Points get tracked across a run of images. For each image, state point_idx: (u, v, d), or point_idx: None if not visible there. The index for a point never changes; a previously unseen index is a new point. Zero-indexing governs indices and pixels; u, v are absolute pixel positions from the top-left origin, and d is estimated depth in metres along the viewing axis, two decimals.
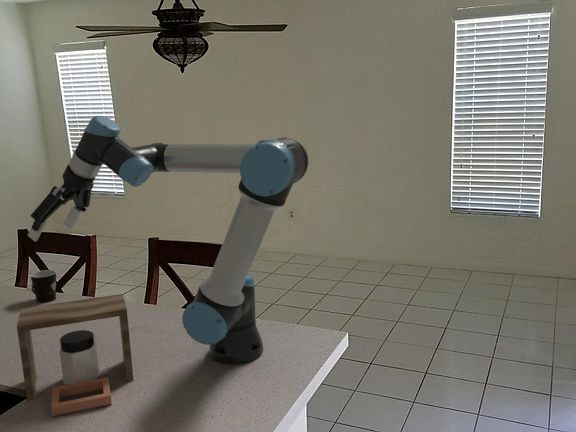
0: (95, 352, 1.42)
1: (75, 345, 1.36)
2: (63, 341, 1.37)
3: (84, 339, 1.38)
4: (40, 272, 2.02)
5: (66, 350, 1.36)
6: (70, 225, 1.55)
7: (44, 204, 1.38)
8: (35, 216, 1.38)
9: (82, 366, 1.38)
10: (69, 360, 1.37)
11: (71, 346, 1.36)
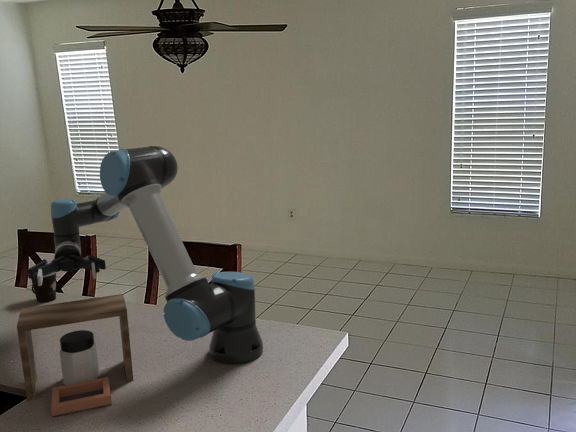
0: (95, 352, 1.42)
1: (75, 345, 1.36)
2: (63, 341, 1.37)
3: (84, 339, 1.38)
4: None
5: (66, 350, 1.36)
6: (92, 269, 1.49)
7: None
8: None
9: (82, 366, 1.38)
10: (69, 360, 1.37)
11: (71, 346, 1.36)
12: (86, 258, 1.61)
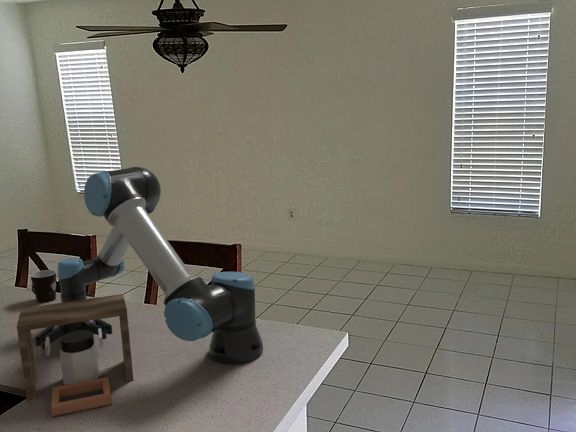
0: (95, 352, 1.42)
1: (75, 345, 1.36)
2: (63, 341, 1.37)
3: (84, 339, 1.38)
4: (40, 272, 2.02)
5: (66, 350, 1.36)
6: (99, 337, 1.50)
7: None
8: None
9: (82, 366, 1.38)
10: (69, 360, 1.37)
11: (71, 346, 1.36)
12: (93, 321, 1.62)
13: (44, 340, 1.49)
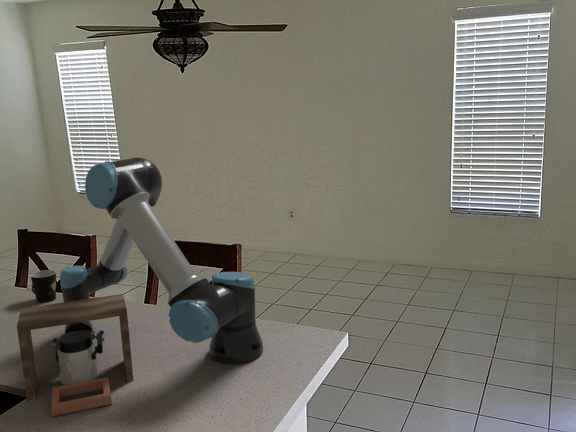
0: None
1: (72, 346, 1.36)
2: (61, 341, 1.37)
3: (81, 340, 1.37)
4: (40, 272, 2.02)
5: (63, 350, 1.36)
6: None
7: None
8: None
9: (79, 367, 1.37)
10: (66, 360, 1.37)
11: (68, 346, 1.36)
12: (97, 334, 1.52)
13: None
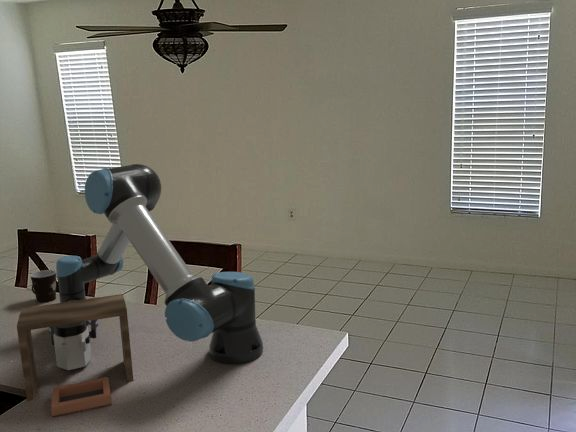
0: None
1: (67, 330, 1.43)
2: (56, 326, 1.44)
3: (76, 324, 1.45)
4: (40, 272, 2.02)
5: (58, 334, 1.44)
6: (82, 342, 1.45)
7: None
8: None
9: (74, 350, 1.45)
10: (61, 343, 1.44)
11: (63, 331, 1.43)
12: (91, 321, 1.60)
13: None
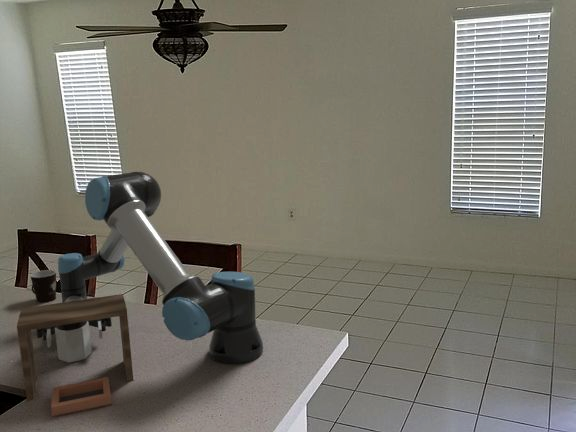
0: (87, 331, 1.55)
1: None
2: None
3: None
4: (40, 272, 2.02)
5: (60, 328, 1.50)
6: None
7: None
8: None
9: (74, 343, 1.51)
10: (62, 337, 1.50)
11: None
12: None
13: (45, 332, 1.54)
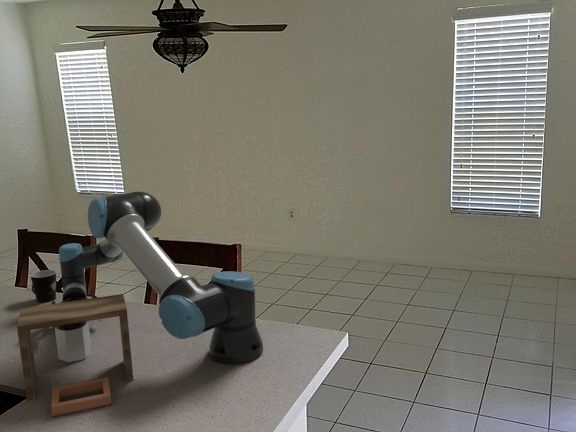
0: (87, 331, 1.55)
1: None
2: None
3: None
4: (40, 272, 2.02)
5: (60, 328, 1.50)
6: None
7: None
8: None
9: (74, 343, 1.51)
10: (62, 337, 1.50)
11: None
12: None
13: None
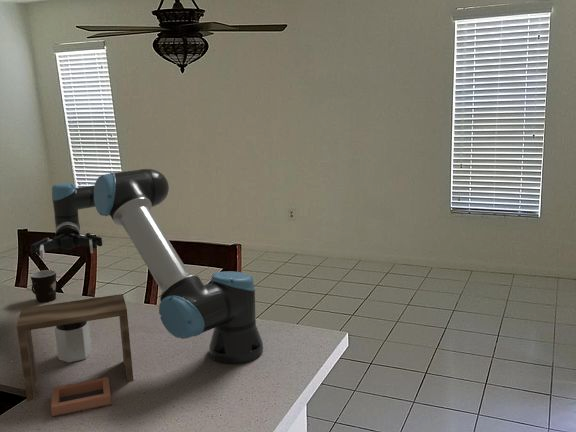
0: (87, 331, 1.55)
1: None
2: None
3: None
4: (40, 272, 2.02)
5: (60, 328, 1.50)
6: (89, 245, 1.62)
7: None
8: None
9: (74, 343, 1.51)
10: (62, 337, 1.50)
11: None
12: (84, 236, 1.75)
13: (39, 247, 1.62)
